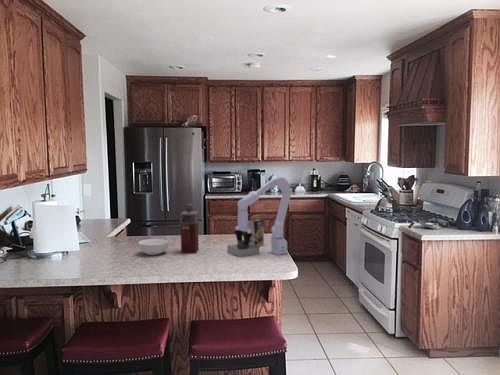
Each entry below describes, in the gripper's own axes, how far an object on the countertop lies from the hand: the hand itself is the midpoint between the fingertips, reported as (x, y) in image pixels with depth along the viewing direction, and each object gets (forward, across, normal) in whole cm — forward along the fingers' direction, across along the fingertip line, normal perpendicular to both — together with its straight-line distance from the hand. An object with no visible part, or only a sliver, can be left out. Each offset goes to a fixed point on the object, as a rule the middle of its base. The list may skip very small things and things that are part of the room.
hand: (243, 243), depth 244 cm
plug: (+4, 0, 0) cm, 4 cm away
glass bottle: (+6, -21, -24) cm, 32 cm away
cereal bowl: (+6, -29, -43) cm, 52 cm away
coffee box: (+6, -13, +17) cm, 22 cm away
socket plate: (+5, 0, 0) cm, 5 cm away
